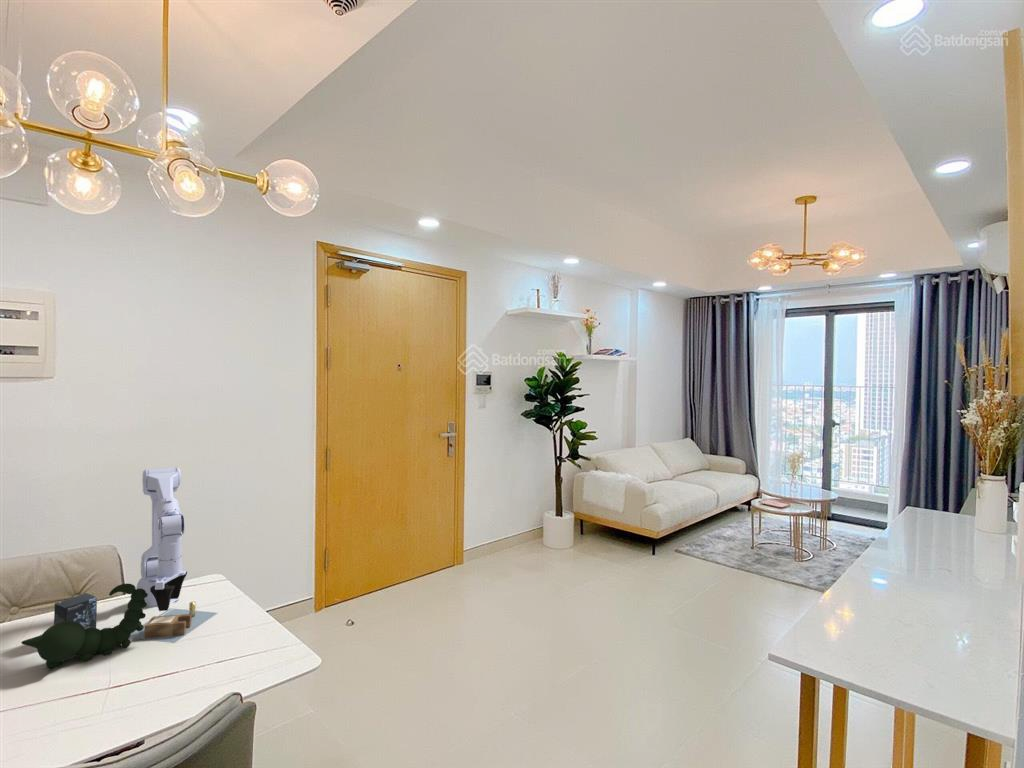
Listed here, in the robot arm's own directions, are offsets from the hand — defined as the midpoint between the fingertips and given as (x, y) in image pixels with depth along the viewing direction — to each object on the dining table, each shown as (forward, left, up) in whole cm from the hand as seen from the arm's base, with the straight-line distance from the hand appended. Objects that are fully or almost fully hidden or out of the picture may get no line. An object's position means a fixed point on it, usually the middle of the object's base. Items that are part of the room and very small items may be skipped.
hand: (169, 604), depth 150 cm
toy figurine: (-11, -14, -9) cm, 20 cm away
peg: (0, +10, -9) cm, 13 cm away
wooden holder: (0, 0, -8) cm, 8 cm away
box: (-24, -5, -9) cm, 26 cm away
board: (-2, +4, -9) cm, 10 cm away
